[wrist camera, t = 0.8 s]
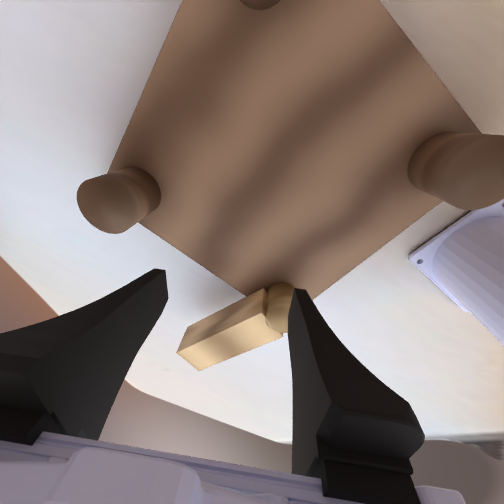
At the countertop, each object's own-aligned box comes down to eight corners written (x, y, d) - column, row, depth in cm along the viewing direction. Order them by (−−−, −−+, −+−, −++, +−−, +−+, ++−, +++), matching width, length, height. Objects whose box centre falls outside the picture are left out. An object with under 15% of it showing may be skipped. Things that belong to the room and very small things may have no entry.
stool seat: (471, 152, 17) (568, 168, 11) (283, 304, 26) (284, 356, 20) (258, -113, 12) (240, -319, 6) (116, 187, 21) (56, 211, 15)
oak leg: (285, 276, 21) (286, 300, 18) (304, 300, 22) (308, 326, 19) (187, 327, 25) (176, 352, 22) (207, 344, 26) (198, 371, 23)
